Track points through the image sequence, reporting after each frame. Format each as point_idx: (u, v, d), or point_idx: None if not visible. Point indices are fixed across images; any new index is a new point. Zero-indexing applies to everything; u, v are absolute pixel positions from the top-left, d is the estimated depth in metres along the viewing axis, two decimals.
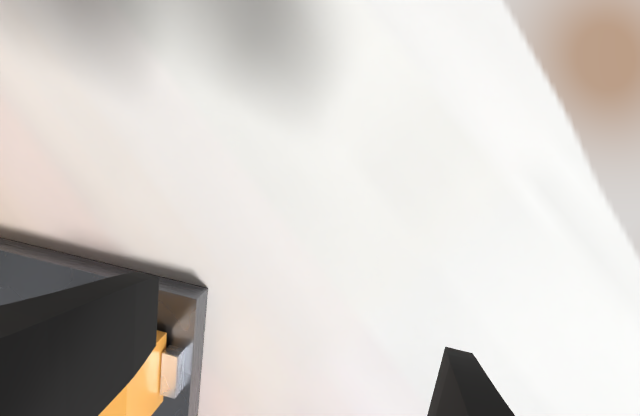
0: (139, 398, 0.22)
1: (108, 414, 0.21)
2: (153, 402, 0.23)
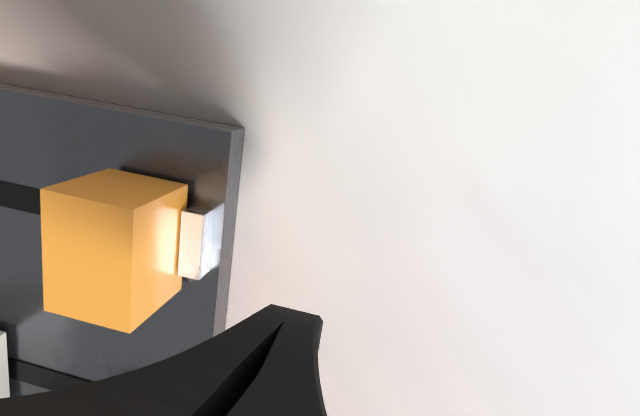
0: (149, 264, 0.15)
1: (105, 282, 0.14)
2: (168, 283, 0.16)
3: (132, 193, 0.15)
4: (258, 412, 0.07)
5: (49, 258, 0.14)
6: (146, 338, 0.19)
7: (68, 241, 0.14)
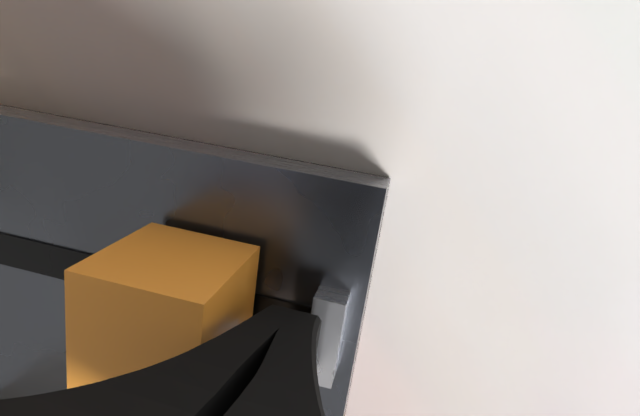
0: None
1: None
2: None
3: (193, 269, 0.10)
4: (256, 411, 0.07)
5: (77, 364, 0.10)
6: None
7: (104, 343, 0.10)
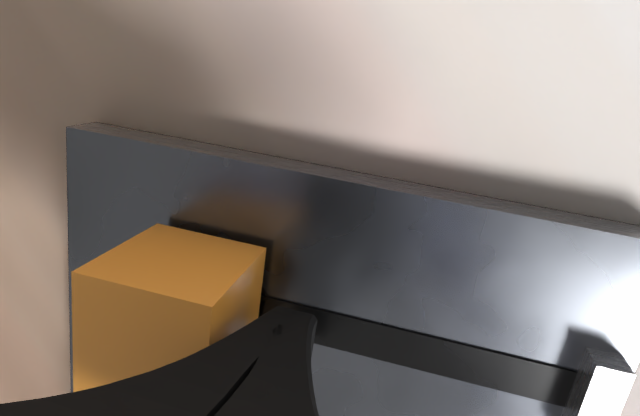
0: None
1: None
2: None
3: (200, 271, 0.10)
4: (249, 409, 0.07)
5: (84, 366, 0.10)
6: None
7: (111, 345, 0.10)
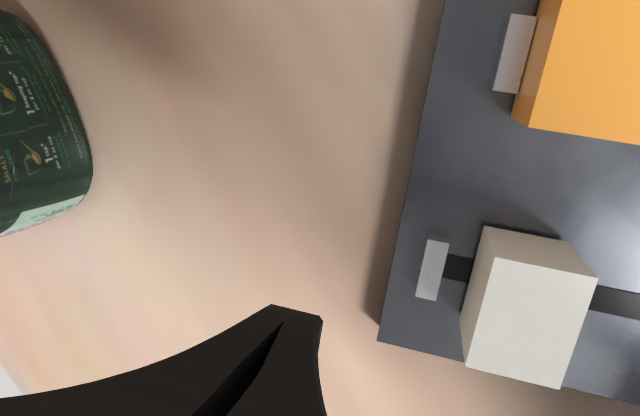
0: None
1: (627, 83, 0.13)
2: None
3: None
4: (258, 412, 0.07)
5: (557, 60, 0.13)
6: None
7: (590, 36, 0.13)
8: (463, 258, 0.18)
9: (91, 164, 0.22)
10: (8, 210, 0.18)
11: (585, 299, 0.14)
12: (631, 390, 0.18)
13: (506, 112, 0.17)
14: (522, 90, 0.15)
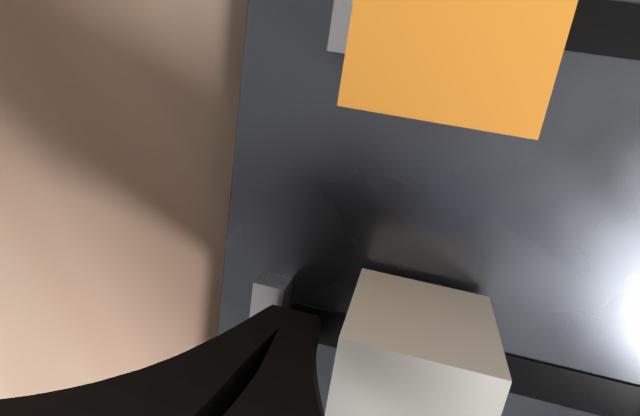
0: None
1: (504, 20, 0.07)
2: None
3: None
4: (256, 411, 0.07)
5: None
6: None
7: None
8: (316, 309, 0.12)
9: None
10: None
11: (491, 415, 0.08)
12: None
13: None
14: None
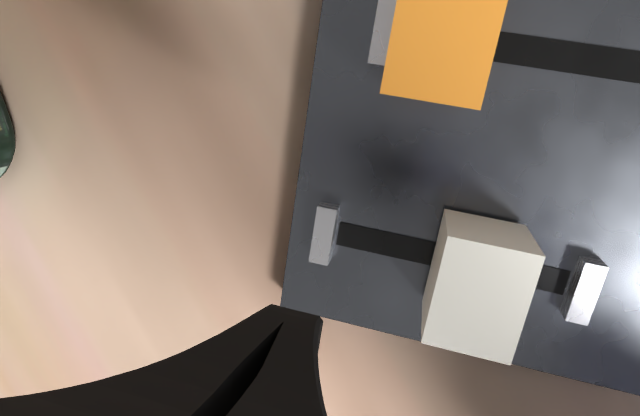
0: None
1: (463, 51, 0.14)
2: None
3: None
4: (258, 412, 0.07)
5: (400, 30, 0.14)
6: (630, 208, 0.17)
7: (427, 7, 0.14)
8: (355, 226, 0.20)
9: (12, 137, 0.23)
10: None
11: (533, 277, 0.15)
12: None
13: None
14: None
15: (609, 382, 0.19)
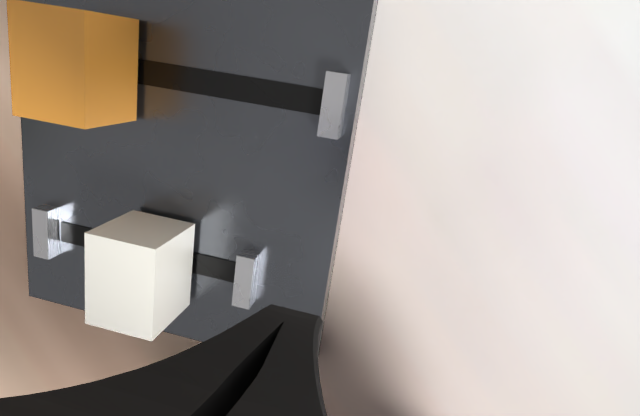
0: (102, 74, 0.17)
1: (63, 82, 0.17)
2: (123, 106, 0.19)
3: None
4: (258, 412, 0.07)
5: (16, 64, 0.17)
6: (273, 209, 0.20)
7: (30, 46, 0.17)
8: (73, 225, 0.23)
9: None
10: None
11: (150, 266, 0.18)
12: (210, 333, 0.23)
13: None
14: None
15: None
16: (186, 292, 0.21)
